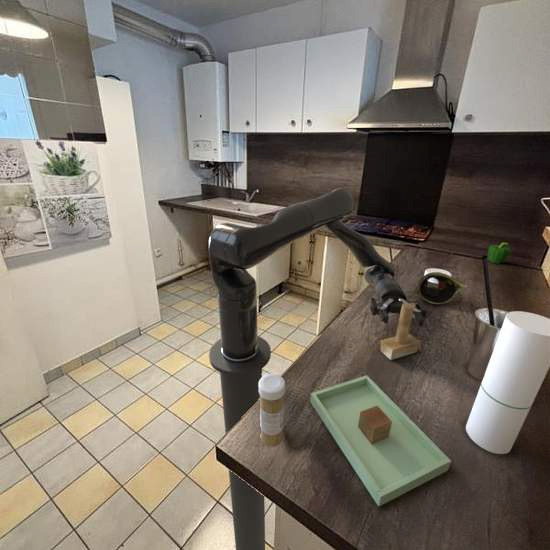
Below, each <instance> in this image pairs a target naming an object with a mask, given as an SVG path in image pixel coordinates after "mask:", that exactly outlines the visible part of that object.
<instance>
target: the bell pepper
mask: <svg viewBox="0 0 550 550" xmlns="http://www.w3.org/2000/svg"><path fill="white" fill-rule="evenodd" d="M508 245H509V243H508V242H501V243H500V245H498V244H494V245H492V244H491V245H490V246H488V249H487V258H488V262H490V263H492V264H497V265H498V264H504V263H505V262H506V260H508V257H509V256H510V254H511V248H510V247H508Z"/></svg>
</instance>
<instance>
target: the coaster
mask: <svg viewBox="0 0 550 550" xmlns="http://www.w3.org/2000/svg"><path fill="white" fill-rule="evenodd" d="M432 272H441V273H444V274H447V275H449V276H450V277H451V278H453V274H452V273H451V272H450V271H448V270H445V269H441V268H435V267H434V268H433V267H430V268H427V269H425V270H424V274H423V276H425V275H426V274H428V273H432ZM428 282H429V283H431V284H435V285H438V281H437V280H436V279H434V278H430V279H429V280H428ZM428 282H427V283H428Z"/></svg>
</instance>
